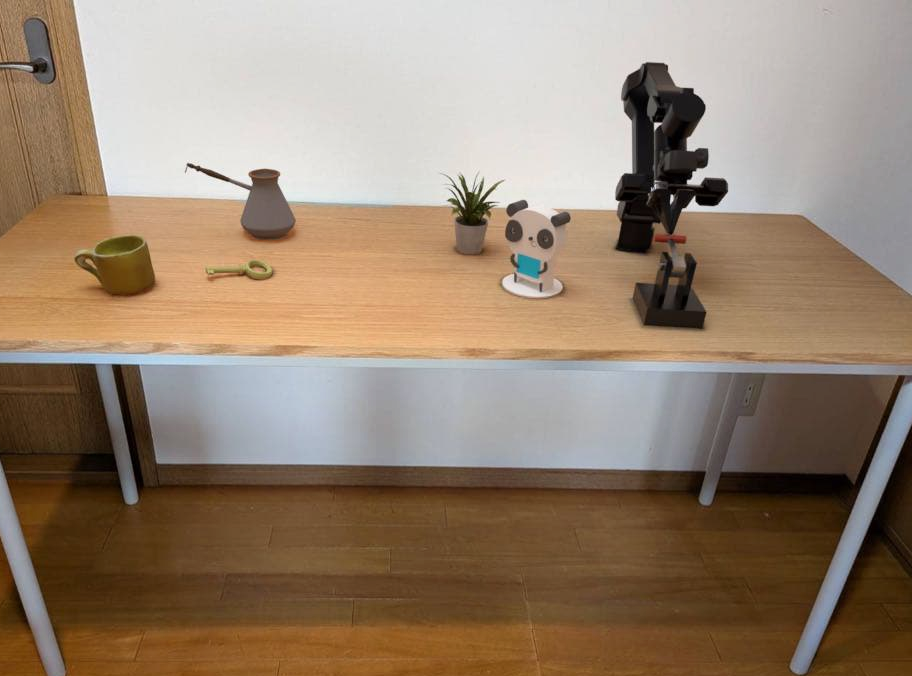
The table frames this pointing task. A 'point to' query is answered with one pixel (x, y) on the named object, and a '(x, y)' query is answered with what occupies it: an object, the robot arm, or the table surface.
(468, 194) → the house plant
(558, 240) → the panda figurine
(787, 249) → the table surface
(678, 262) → the switch lever
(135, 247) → the mug
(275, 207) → the coffee pot
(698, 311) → the lever base unit
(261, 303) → the table surface
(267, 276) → the key
